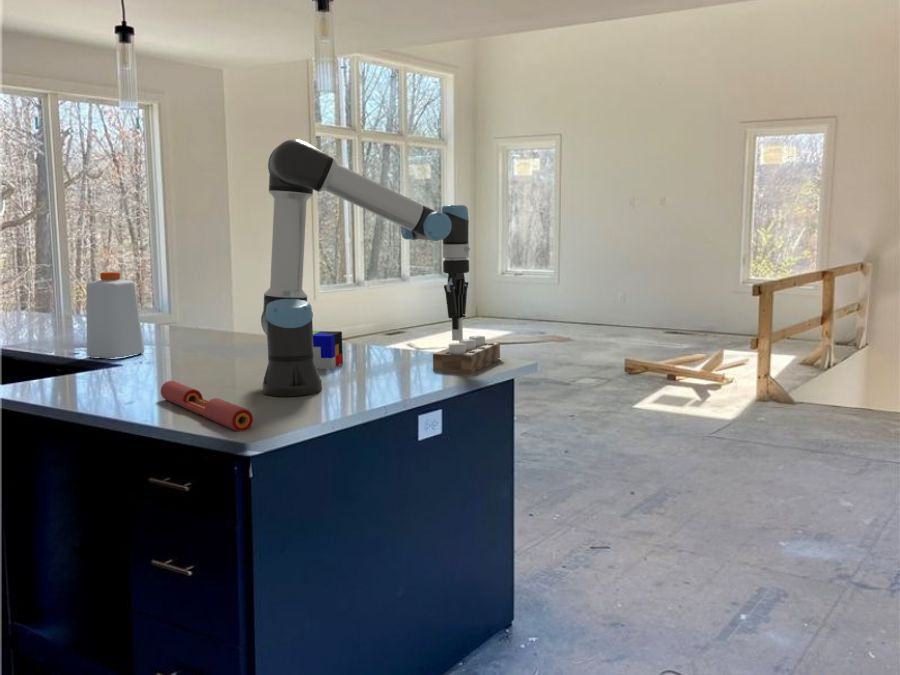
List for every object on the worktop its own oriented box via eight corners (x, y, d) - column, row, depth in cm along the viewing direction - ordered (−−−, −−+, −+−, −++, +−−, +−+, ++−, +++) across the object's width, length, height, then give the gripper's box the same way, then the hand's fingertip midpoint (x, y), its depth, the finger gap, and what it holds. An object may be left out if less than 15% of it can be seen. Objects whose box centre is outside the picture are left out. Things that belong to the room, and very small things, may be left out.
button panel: (471, 373, 234) (471, 353, 233) (433, 370, 239) (432, 351, 238) (499, 359, 256) (499, 341, 255) (464, 357, 261) (464, 340, 260)
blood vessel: (161, 401, 204) (159, 382, 204) (180, 398, 208) (179, 379, 207) (232, 434, 172) (230, 410, 171) (254, 430, 175) (252, 407, 175)
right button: (481, 352, 251) (481, 338, 250) (466, 351, 253) (466, 337, 252) (487, 349, 255) (487, 336, 255) (472, 348, 257) (472, 335, 257)
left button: (461, 360, 236) (461, 346, 236) (446, 359, 238) (445, 345, 238) (468, 357, 241) (468, 343, 240) (452, 357, 243) (452, 342, 242)
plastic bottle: (81, 358, 269) (74, 273, 265) (114, 351, 283) (108, 270, 279) (117, 360, 264) (111, 274, 260) (150, 353, 278) (144, 271, 274)
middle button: (472, 356, 244) (472, 342, 243) (456, 355, 246) (456, 341, 245) (478, 353, 248) (478, 339, 248) (463, 352, 250) (462, 338, 249)
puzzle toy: (331, 369, 244) (330, 336, 243) (300, 368, 246) (299, 335, 245) (342, 363, 254) (341, 331, 253) (312, 362, 256) (311, 331, 255)
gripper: (459, 260, 228) (460, 344, 231) (476, 258, 240) (477, 337, 243) (434, 260, 231) (436, 342, 234) (452, 257, 243) (454, 336, 246)
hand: (457, 340), depth 239 cm, fingers closed
